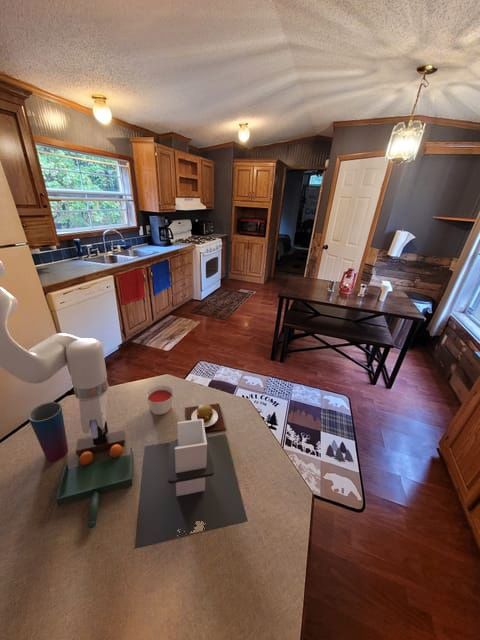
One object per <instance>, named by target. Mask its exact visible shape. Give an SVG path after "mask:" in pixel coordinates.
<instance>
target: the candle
mask: <svg viewBox="0 0 480 640" xmlns="http://www.w3.org/2000/svg"><path fill="white" fill-rule="evenodd" d="M174 394H175V391H174V389H173V387H172V386H169V385H166V384H160V385H155V386H153V387H150V388H149V389H148V390H147V392H146V393H145V397H146V401H147V404H148V407H149V409H150V412H151V413H152V414H154V415H157V416H158V415H160V416H161V415H165V414H167V413H169V411H170V410H171V408H172V404H173V400H174Z"/></svg>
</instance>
